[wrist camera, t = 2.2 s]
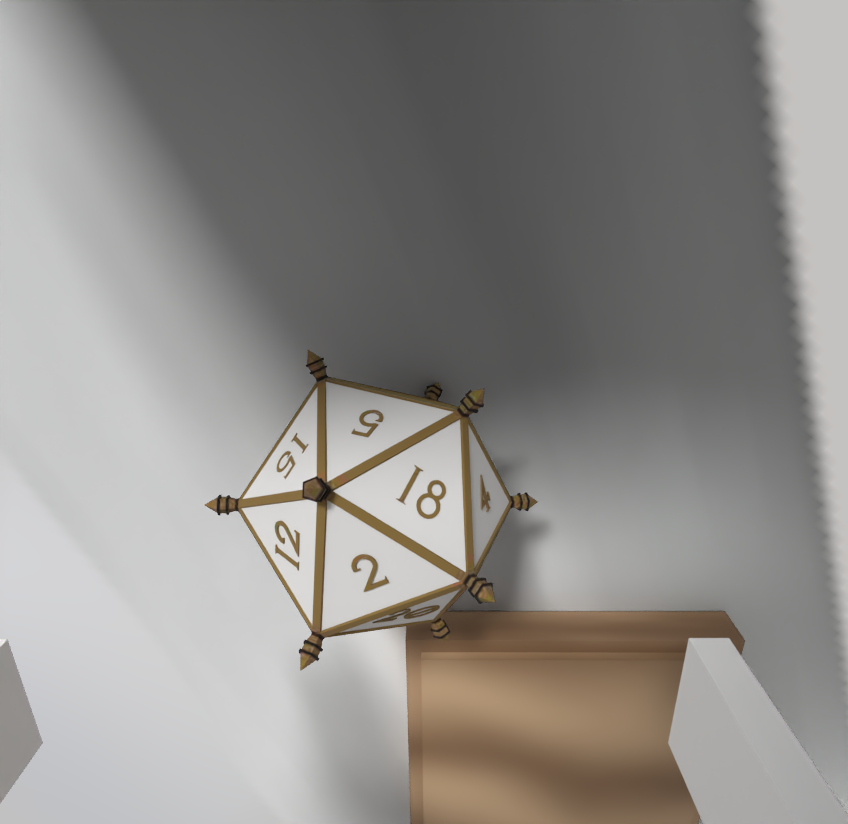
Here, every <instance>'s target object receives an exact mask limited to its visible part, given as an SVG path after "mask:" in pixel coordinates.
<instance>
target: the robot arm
mask: <svg viewBox="0 0 848 824" xmlns="http://www.w3.org/2000/svg"><path fill="white" fill-rule="evenodd" d="M42 743H43V742H42V739H41V736H40V734H39V730H38V728H37V725H36V722H35V719H34V716H33V713H32V710H31V707H30V704H29V701H28V698H27V695H26V692H25V689H24V687H23V684H22V681H21V678H20V675H19V672H18V669H17V666H16V663H15V660H14V657H13V654H12V652H11V649H10V646H9V643H8V640H7V639H6V640H5V639H3V640H1V639H0V803H1V802H2V800H3V799H4V797H5V796H6V794H7V793H8V792H9V790H10V789H11V787H12V786H13V785H14V783H15V782H16V780H17V779H18V777H19V776H20V775H21V773H22V772H23V770H24V769H25V767H26V766H27V764H28V763H29V762H30V760H31V759H32V757H33V756H34V755H35V753H36V752H37V750H38V749H39V747H40V746H41V744H42ZM668 744H669V746H670V748H671V751H672V753H673V755H674V758H675V760H676V762H677V765H678V767H679V769H680V771H681V774H682V776H683V778H684V781H685V783H686V785H687V788H688V790H689V792H690V795H691V797H692V799H693V801H694V804H695V806H696V808H697V811H698V813H699V815H700V818H701V820H702V822H703V824H848V814H847V813H846V811H845V810H844V808H843V807H842V805H841V804H840V802H839V801H838V799H837V798H836V796H835V795H834V793H833V792H832V790H831V789H830V787H829V786H828V784H827V783H826V781H825V780H824V778H823V777H822V776H821V774H820V773H819V771H818V770H817V768H816V767H815V765H814V764H813V762H812V761H811V759H810V758H809V756H808V755H807V753H806V752H805V750H804V749H803V747H802V746H801V744H800V743H799V741H798V740H797V738H796V737H795V735H794V734H793V732H792V731H791V729H790V728H789V726H788V725H787V723H786V722H785V721H784V719H783V718H782V716H781V715H780V713H779V712H778V710H777V709H776V707H775V706H774V704H773V703H772V701H771V700H770V698H769V697H768V695H767V694H766V692H765V691H764V689H763V688H762V686H761V685H760V683H759V682H758V680H757V679H756V677H755V676H754V674H753V673H752V671H751V670H750V668H749V667H748V665H747V664H746V663H745V661H744V660H743V658H742V657H741V655H740V654H739V652H738V651H737V649H736V648H735V646H734V645H733V643H732V642H731V640H730V639H729V638H689V639H688V644H687V649H686V655H685V660H684V665H683V670H682V675H681V680H680V685H679V690H678V695H677V700H676V705H675V710H674V715H673V720H672V725H671V731H670V736H669V741H668Z"/></svg>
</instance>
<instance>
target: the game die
mask: <svg viewBox="0 0 848 824" xmlns="http://www.w3.org/2000/svg"><path fill="white" fill-rule="evenodd" d="M323 360H324V358H320V357H319V356H317V355H315V354H314V353H312V352H311V351H309V350H308V360H307V365H306V367H309V369H310V371H311V372H310V374H313V376H314V377H315V378H316V381H317V382H316V384H315V385H314V387H313V388H312V390H311V391H310V393H309V394H308V396H307V397H306V399H305V400H304V402H303V403H302V405H301V406H300V408H299V409H298V411H297V412H296V414H295V415H294V417H293V418H292V420H291V421H290V423H289V424H288V426H287V428H286V429H285V431H284V432H283V434H282V435H281V437H280V438H279V440H278V441H277V443H276V444H275V446H274V447H273V449H272V450H271V452H270V453H269V455H268V456H267V458H266V459H265V461H264V462H263V464H262V465H261V467H260V468H259V470H258V471H257V473H256V474H255V476H254V477H253V479H252V480H251V482H250V483H249V485H248V486H247V488H246V489H245V491H244V492H243V494H242V495H241V497H240V498H239V499H235V498H231V497H230V495H228V496H227V497H221V495H219V496H218V498H216V499H214V500H212V501H210V502H209V503H207V504H205V506H207V507H208V508H210V509H212V510H213V511H215V512H217V513H218V515H220V513H226V514H227V515H229V513H230V512H233V511H239V513H240V514H241V516H242V518H243V519H244V521H245V523H246V524H247V526H248V528H249V529H250V531H251V532H252V534H253V536H254V537H255V539H256V541H257V542H258V544H259V546H260V547H261V549H262V551H263V552H264V554H265V556H266V557H267V559H268V561H269V562H270V564H271V565H272V567H273V569H274V570H275V572H276V574H277V575H278V577H279V579H280V580H281V582H282V584H283V585H284V587H285V589H286V590H287V592H288V593H289V595H290V597H291V598H292V600H293V602H294V603H295V605H296V607H297V608H298V610H299V612H300V613H301V615H302V617H303V618H304V620H305V622H306V623H307V625H308V626H309V628H310V630H311V631H312V634H311V636H310V637H309V638H308V639H307V640H305V641H304V646H303V648H302V649H300V650H299V653H300V654H301V667H300V671H301V670H302V669H304V668H305V667H307V666H308V665H310V664H311V663H312V662H314V661H315V660H317V661H318V660H319V658H318V655H319V653H320V651H322V650H323V649H322V648H321V646H322V640H323V639H324V638H325V637H332V636H339V635H346V634H353V633H360V632H367V631H374V630H381V629H388V628H395V627H402V626H408V625H415V624H422V623H429V622H431V625H432V628H431V631H432V632H433V633H434V636H433V637H434V638H438V639H440V640H442V641H444V642H445V643H447V641H448V636H449V633H450V630H449V628H448V626H447V624H446V623H445V621H444V620H442V619H441V618H440V617H441V616H442V615H443V614H444V613H445V612H446V611H447V610H448V609H449V608H450V607H451V605H452V604H453V603H454V602H455V601H456V600H457V599H458V598H459V597H460V596H461V595H462V594H463V592H464V591H465V590H466V589H467V588H469V589H468V591H469V592H470V594H471V595H472V596H473V597H475V598H476V600H477V601H478V602H479V603H480V604H481V603H482V602H495V599H494V594H493V590H492V586H493V584H492V583H487V582H486V579H485V578H478V577H476V576H477V574H478V572H479V570H480V568H481V566H482V564H483V562H484V560H485V558H486V556H487V554H488V552H489V550H490V548H491V546H492V544H493V542H494V540H495V538H496V536H497V534H498V532H499V530H500V528H501V526H502V524H503V522H504V520H505V518H506V516H507V514H508V512H509V510H510V508H513V507H514V508H516V509H518V510H520V511H521V509H525V510H526V511H528V509H529V508H530V507H532V506H533V505H534V504H536V503H537V501H536V500H534V499H533V498H532V497H530V496H529V495H528V494H527V493H525V494H521V495H520V493H518V494H517V495H516V496H513V497H512V496H510V495H509V493H508V491H507V489H506V487H505V485H504V483H503V481H502V480H501V478H500V476H499V474H498V472H497V470H496V468H495V466H494V464H493V462H492V460H491V459H490V457H489V455H488V453H487V451H486V449H485V447H484V445H483V443H482V441H481V439H480V437H479V436H478V434H477V432H476V430H475V428H474V426H473V424H472V422H471V420H470V418H469V415H470V414H472V413H477V412H478V410H477V409H478V408H480V407H483V406H484V405H483V396H484V388H483V389H479V390H475V391H471V390H470V391H469V392H468V393H467V394H466V395H465V396H466V397H464V398H463V399H462V400H461V401H460V402H461V405H460V407H457V406H453V405H450V404H446V403H443V402H439V401H438V398H439V397H440V395H441V393H442V389H441V388H440V385H439V382H438V383H436V384H434V385H431V386H427V391H426V392H425V395H426V397H425V398H424V397H419V396H414V395H410V394H405V393H401V392H396V391H391V390H387V389H382V388H377V387H373V386H368V385H364V384H359V383H354V382H350V381H345V380H341V379H336V378H331V377H328V376H327V375H326V367H327V366H325V365H324V363H323Z"/></svg>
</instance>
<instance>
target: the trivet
mask: <svg viewBox="0 0 848 824" xmlns="http://www.w3.org/2000/svg"><path fill="white" fill-rule="evenodd" d="M440 618H441V619H442V620H444V621H445V623H446V624H447V626H448V628H449V630H450V633H449V636H448V641H447V643H445V642H444V641H442V640H440V639H438V638H434V637H433V636H434V633H433V632H432V631H431V628H432V625H431V622H429V623H422V624H415V625H408V626H406V671H407V707H408V743H409V779H410V816H411V824H698V822H699V818H700V815H699V813H698V811H697V808H696V806H695V804H694V801H693V799H692V797H691V795H690V792H689V790H688V788H687V785H686V783H685V781H684V778H683V776H682V774H681V771H680V769H679V767H678V765H677V762H676V760H675V758H674V755H673V753H672V751H671V748H670V746H669V744H668V741H669V736H670V731H671V725H672V720H673V715H674V710H675V705H676V700H677V695H678V690H679V685H680V680H681V675H682V670H683V665H684V660H685V655H686V649H687V644H688V639H689V638H729V639H730V640H731V642H732V643H733V645H734V646H735V648H736V649H737V651H738V652H739V654H740V655H741V654H742V650H743V646H744V642H745V640H744V638H743V637H742V636H741V634H740V633H739V631H738V630H737V628H736V627H735V625H734V624H733V622H732V621H731V619H730V618H729V617H728V615H727V614H726V612H725V611H446V612H445V613H444V614H443V615H442V616H441V617H440Z"/></svg>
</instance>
